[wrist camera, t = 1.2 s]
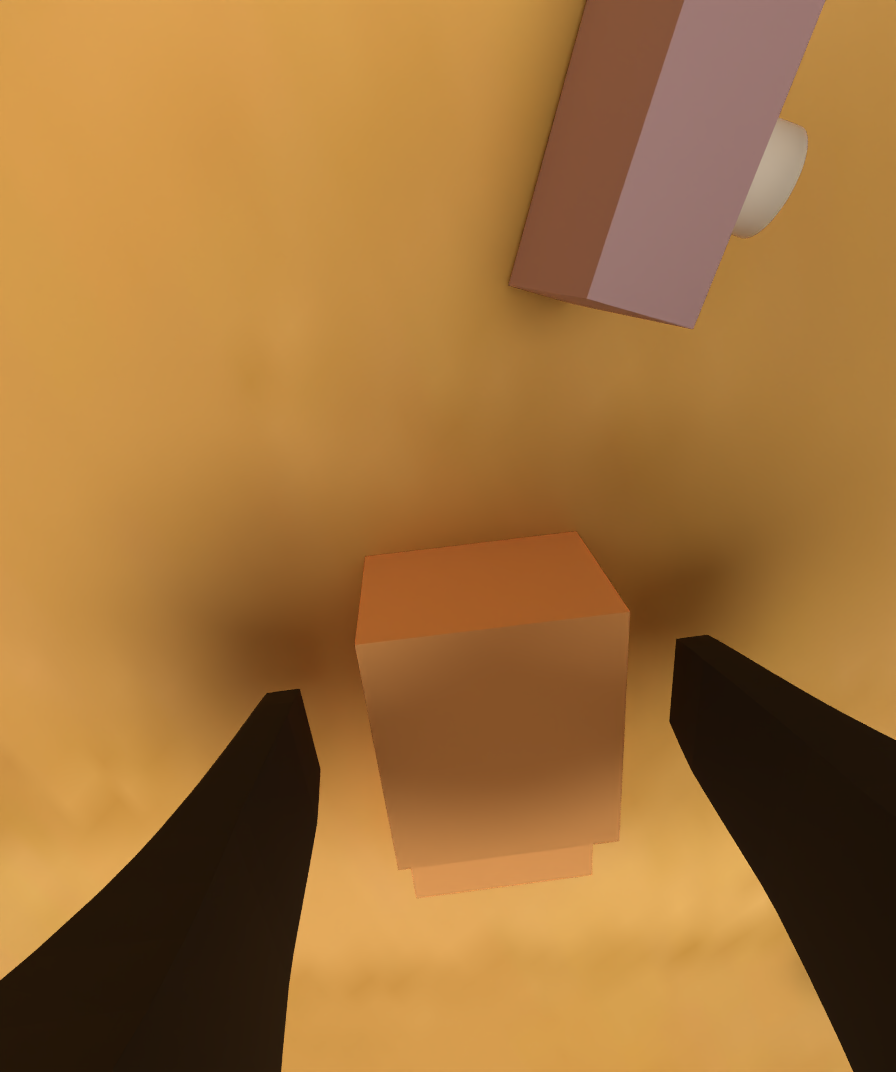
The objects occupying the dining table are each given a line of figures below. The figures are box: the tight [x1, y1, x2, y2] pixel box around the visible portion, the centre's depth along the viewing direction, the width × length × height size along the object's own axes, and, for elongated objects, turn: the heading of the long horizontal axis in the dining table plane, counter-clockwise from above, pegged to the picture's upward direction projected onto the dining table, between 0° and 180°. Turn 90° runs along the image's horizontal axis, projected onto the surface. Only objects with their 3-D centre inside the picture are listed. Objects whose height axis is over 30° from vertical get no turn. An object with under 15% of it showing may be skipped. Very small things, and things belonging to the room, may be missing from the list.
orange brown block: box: [355, 531, 630, 898], centre depth 13 cm, size 4×9×4 cm, turn 5°
